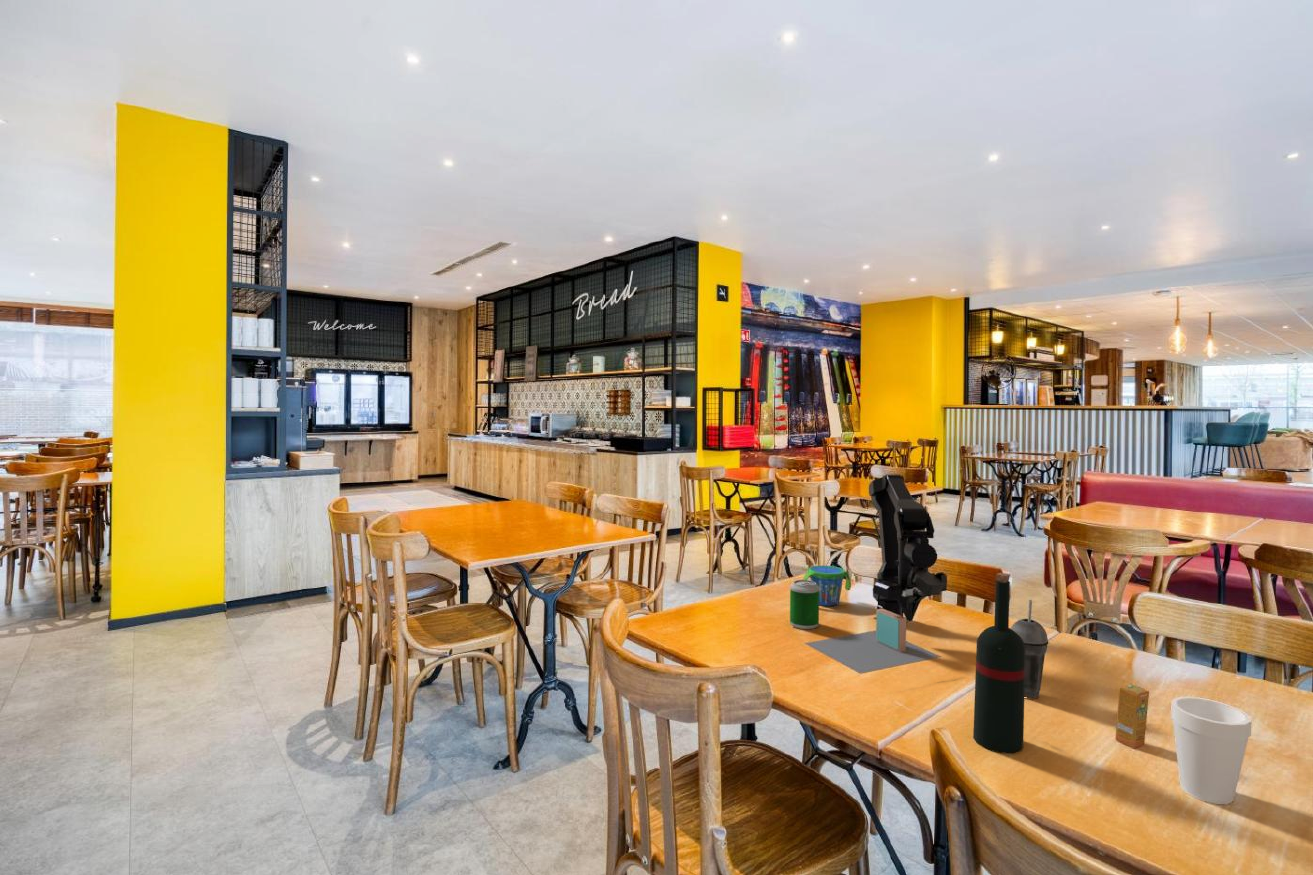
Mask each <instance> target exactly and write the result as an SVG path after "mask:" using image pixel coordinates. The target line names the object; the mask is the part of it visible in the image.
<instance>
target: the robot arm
mask: <svg viewBox="0 0 1313 875" xmlns="http://www.w3.org/2000/svg"><path fill="white" fill-rule="evenodd" d="M868 495H869V497H870V499H871V500H870V501H871V505H872V506H873V507H874V509H876V511H877V512H878V524H879V535H880V536H879V537H880V548H881V560H882V564H881V566H880V568H879V570H878V571H877V574H876V577H877V578H876V580H875V582H874V584H873V586H872V597H873V599H875V601H876V602H877V605H876V610H877V609H885V610H888V611H890V612H893V613H895V614H898V615H900V616H903V617H905V618H906V623H908V622H912V621H914V617H915V615H916V612H917V610H918V608H919V605H920V604H921V602H922V600H924V599H925V598H927V597H932V596H935V595H936V596H940V595H941V592H946V591H947V589H948V575H947V574H946V573H945V572H944V571H942V572H941V571H940V572H937V573H934V572H932V573H931V572H930V571H929V568H931V567H933V566H934V565H935V564H936V563H937V560H938V552H937V550H936V548H935V547H933V545H931V544H929V542H930V539H934V537H935V535H934V534H935V527H934V524H933V520H932V517H931V516H930V513H929V512H928V511H927V509H926V507H925V506H924V505H923V504H922V503H920V502H917V501H915V500H914V498H913V496H912V495H911V493H910V491H909V489H908V487H907V485H906V484H905V478H904V475H901V474H884V475H882V477H879V478H876V479H873V480H872V481H871V482H870V483H869V484H868ZM876 618H877V616H875V617H873V619H874V620H876Z"/></svg>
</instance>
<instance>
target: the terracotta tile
mask: <svg viewBox="0 0 1313 875" xmlns="http://www.w3.org/2000/svg"><path fill="white" fill-rule="evenodd" d="M876 617H877V618H875V622H876V625H875V626H876V627H875V628H876V630H875V631H876V641H877V642H879V643H881V644H883V645H885V646H888V647H890V648H892V649H894V650H896V651H898V652H903V651H906V641H907V622H906V621H907V620H906V617H905V616H904V615H903V616H900V615H898V614H895V613H893V612H890V611H888V610H885V609H877V608H876Z"/></svg>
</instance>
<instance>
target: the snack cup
mask: <svg viewBox="0 0 1313 875" xmlns="http://www.w3.org/2000/svg"><path fill="white" fill-rule="evenodd" d="M808 579H809V581H813V582H815V583H816V585H818V586H819V606H824V607H830V606H832V607H833V606H838V605H839V602H840V599H841V594H842V588H843V580H844V579H845V584H844V589H845V590H847V591H851V586H852V582H851V577H850V575H849V573H848V572H847V571H845V570H844V568H841V567H839V566H838V567H837V566H832V565H821V564H820V565H813V566H810V567H809V568H808V570H807V572H806V573H805V574H804V576H803V578H802V580H808Z"/></svg>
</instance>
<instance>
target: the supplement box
mask: <svg viewBox="0 0 1313 875" xmlns="http://www.w3.org/2000/svg"><path fill="white" fill-rule="evenodd" d="M1118 691H1119V692H1118V701H1117V713H1116V714H1117V715H1116V716H1117V717H1116V727H1115V740H1116V741H1117V742H1118V743H1121V744H1122V745H1124V746H1127V747H1130V748H1131V749H1136V748H1140V747H1142V746H1145V742H1146V741H1145V740H1146V728H1147V722H1148V720H1147V719H1148V710H1149V709H1148V708H1149V699H1150V691H1149V690H1147V689H1146V688H1144V687H1141V686H1138V685H1136V684H1133V683H1129V684H1128V685H1121V686H1119V690H1118Z"/></svg>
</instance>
